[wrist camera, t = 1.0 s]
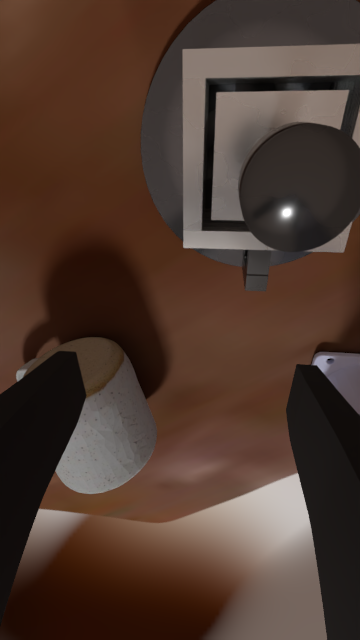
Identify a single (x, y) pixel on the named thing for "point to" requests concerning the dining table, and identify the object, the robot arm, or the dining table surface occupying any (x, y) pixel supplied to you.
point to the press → (240, 76)
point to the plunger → (285, 166)
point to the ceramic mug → (104, 419)
